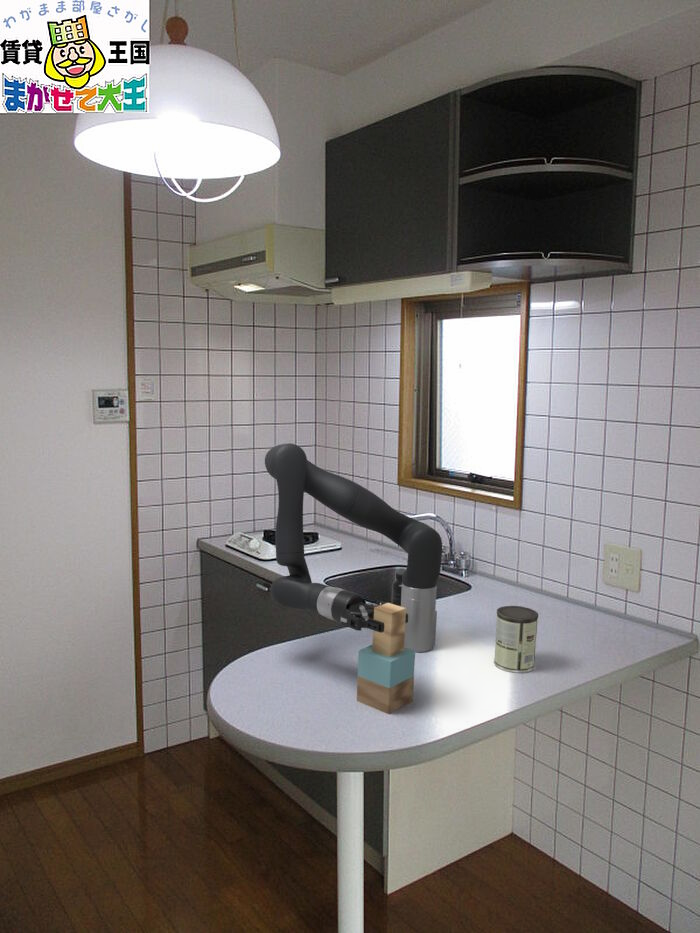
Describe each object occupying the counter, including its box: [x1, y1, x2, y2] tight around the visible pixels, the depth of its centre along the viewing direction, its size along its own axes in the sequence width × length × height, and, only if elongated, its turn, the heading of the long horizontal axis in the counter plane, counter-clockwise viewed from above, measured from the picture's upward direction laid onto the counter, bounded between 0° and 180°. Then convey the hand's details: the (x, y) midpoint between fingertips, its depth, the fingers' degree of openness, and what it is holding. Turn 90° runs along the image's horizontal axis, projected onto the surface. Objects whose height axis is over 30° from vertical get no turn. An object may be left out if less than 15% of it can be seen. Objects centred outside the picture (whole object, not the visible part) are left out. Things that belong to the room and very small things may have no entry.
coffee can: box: [493, 605, 539, 674], centre depth 198 cm, size 10×10×14 cm
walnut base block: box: [356, 675, 415, 715], centre depth 175 cm, size 9×9×6 cm
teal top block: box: [357, 644, 416, 688], centre depth 174 cm, size 9×9×6 cm
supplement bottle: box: [391, 570, 406, 606], centre depth 236 cm, size 7×7×12 cm
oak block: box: [371, 602, 406, 657], centre depth 173 cm, size 5×5×10 cm
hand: (395, 623), depth 171 cm, fingers open, 8 cm apart
